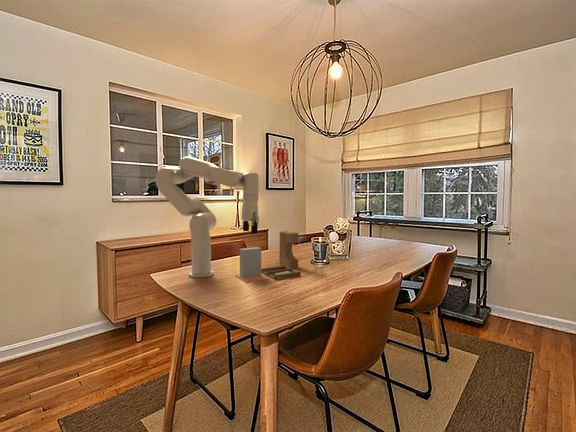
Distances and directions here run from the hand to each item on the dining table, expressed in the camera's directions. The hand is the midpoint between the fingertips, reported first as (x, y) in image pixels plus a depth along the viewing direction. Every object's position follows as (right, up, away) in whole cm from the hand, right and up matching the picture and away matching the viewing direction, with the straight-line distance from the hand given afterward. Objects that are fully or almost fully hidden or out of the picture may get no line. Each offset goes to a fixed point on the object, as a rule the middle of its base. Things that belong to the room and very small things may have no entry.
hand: (250, 232), depth 159 cm
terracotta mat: (+1, -23, +1) cm, 23 cm away
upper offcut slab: (+17, -22, +4) cm, 28 cm away
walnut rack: (+15, -23, +6) cm, 28 cm away
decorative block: (+19, -21, +24) cm, 37 cm away
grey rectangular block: (0, -22, +2) cm, 22 cm away
